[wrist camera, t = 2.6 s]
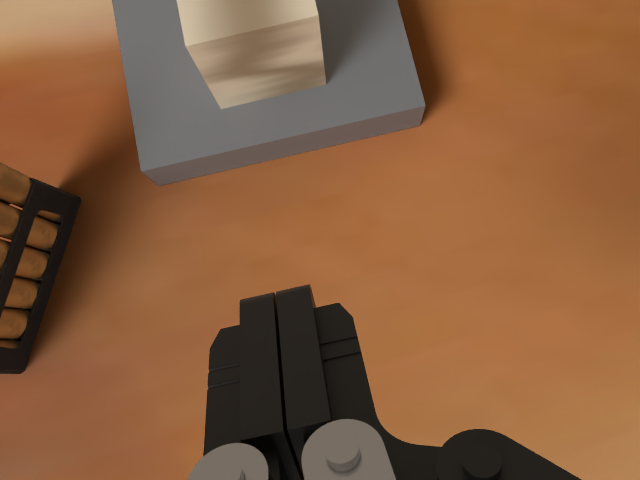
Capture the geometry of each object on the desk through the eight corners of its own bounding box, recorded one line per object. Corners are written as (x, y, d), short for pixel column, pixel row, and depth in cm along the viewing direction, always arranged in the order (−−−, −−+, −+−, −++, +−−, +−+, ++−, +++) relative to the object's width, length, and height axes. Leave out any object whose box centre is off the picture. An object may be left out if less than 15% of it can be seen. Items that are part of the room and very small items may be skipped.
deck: (373, -50, 37) (374, -84, 34) (419, 125, 35) (425, 105, 32) (127, 8, 38) (108, -21, 35) (158, 185, 35) (141, 171, 32)
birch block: (307, 4, 34) (295, -84, 27) (326, 84, 33) (318, 15, 26) (204, 28, 34) (166, -53, 27) (220, 109, 33) (185, 46, 26)
